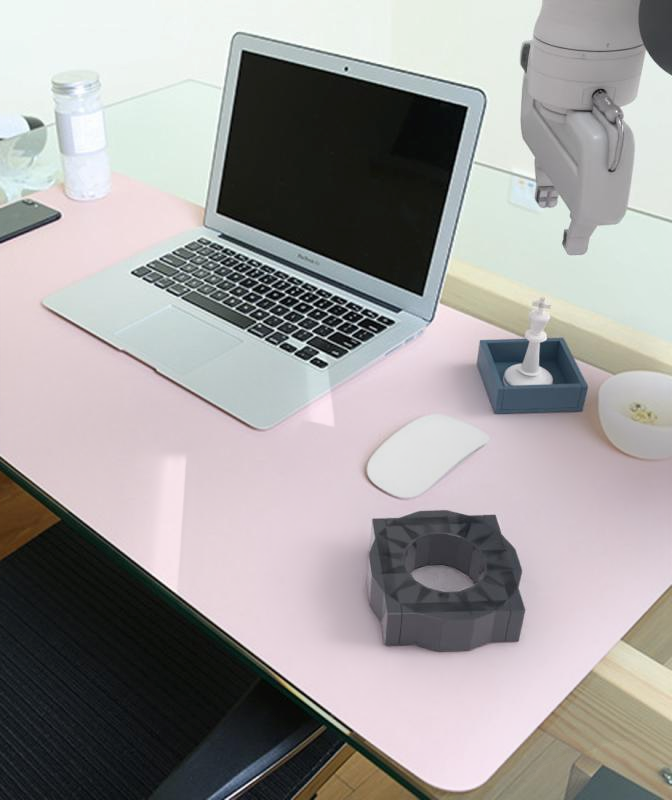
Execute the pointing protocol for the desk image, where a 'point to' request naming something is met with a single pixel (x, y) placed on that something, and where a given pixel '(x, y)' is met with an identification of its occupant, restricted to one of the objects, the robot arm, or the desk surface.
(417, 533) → the dark grey ring block
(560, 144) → the robot arm
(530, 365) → the chess piece
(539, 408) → the basin tray
